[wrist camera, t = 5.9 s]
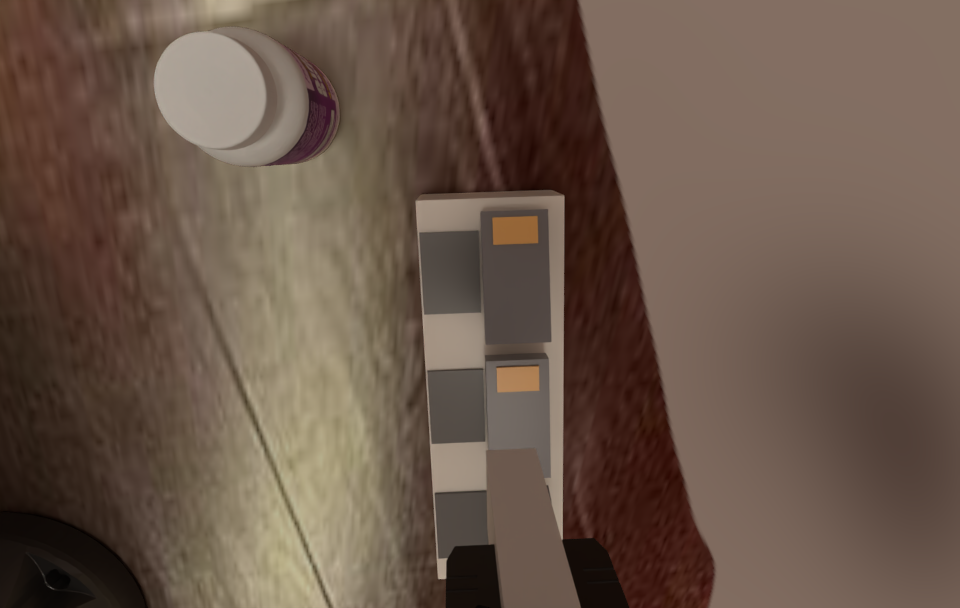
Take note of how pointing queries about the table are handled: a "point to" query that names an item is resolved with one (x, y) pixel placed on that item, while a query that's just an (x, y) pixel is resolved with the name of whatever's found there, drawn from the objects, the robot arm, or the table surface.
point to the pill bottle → (246, 98)
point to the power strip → (475, 355)
